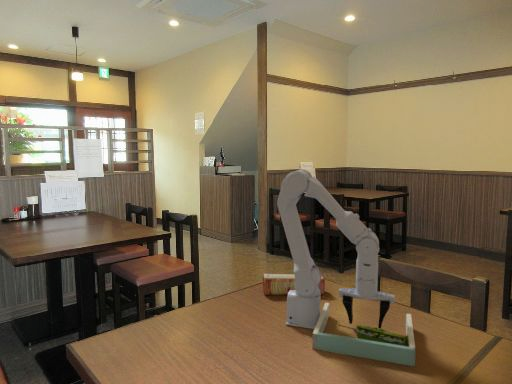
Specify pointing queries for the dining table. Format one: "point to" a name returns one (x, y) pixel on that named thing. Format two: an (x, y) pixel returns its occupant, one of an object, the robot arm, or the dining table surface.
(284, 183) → the robot arm
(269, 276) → the snack package
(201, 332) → the dining table surface
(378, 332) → the toy tank
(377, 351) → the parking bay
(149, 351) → the dining table surface
